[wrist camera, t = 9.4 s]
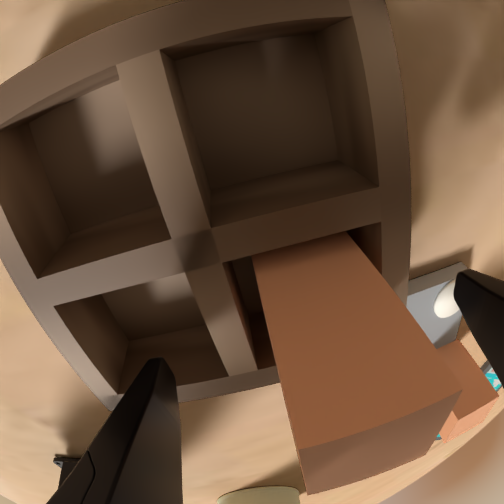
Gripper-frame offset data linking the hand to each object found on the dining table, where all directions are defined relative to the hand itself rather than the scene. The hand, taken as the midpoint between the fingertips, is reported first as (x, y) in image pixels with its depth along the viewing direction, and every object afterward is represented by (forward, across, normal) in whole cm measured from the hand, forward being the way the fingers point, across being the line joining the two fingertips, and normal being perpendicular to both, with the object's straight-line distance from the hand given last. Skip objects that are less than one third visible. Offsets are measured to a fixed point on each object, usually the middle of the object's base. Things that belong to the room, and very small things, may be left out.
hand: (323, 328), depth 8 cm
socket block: (+5, +3, -3) cm, 6 cm away
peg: (+4, 0, 0) cm, 4 cm away
